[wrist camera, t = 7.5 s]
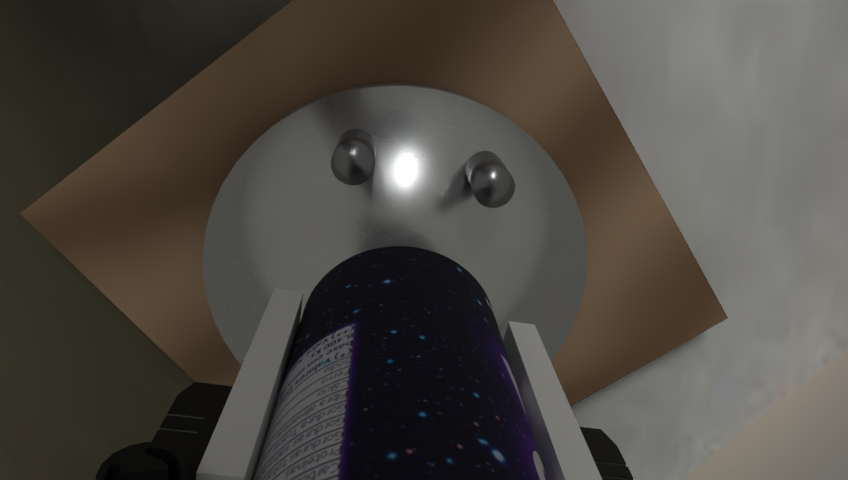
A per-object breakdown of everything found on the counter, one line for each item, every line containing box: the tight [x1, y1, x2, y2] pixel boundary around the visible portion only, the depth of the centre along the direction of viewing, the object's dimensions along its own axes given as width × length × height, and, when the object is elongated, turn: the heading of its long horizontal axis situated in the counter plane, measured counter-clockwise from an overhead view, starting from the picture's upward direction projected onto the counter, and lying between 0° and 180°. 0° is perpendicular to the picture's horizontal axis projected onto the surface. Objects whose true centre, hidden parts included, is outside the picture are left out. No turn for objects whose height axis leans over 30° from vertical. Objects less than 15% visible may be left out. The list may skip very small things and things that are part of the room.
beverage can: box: [253, 246, 547, 480], centre depth 12 cm, size 6×6×12 cm
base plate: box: [20, 0, 728, 406], centre depth 21 cm, size 18×18×2 cm
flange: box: [203, 82, 588, 365], centre depth 19 cm, size 13×13×3 cm
